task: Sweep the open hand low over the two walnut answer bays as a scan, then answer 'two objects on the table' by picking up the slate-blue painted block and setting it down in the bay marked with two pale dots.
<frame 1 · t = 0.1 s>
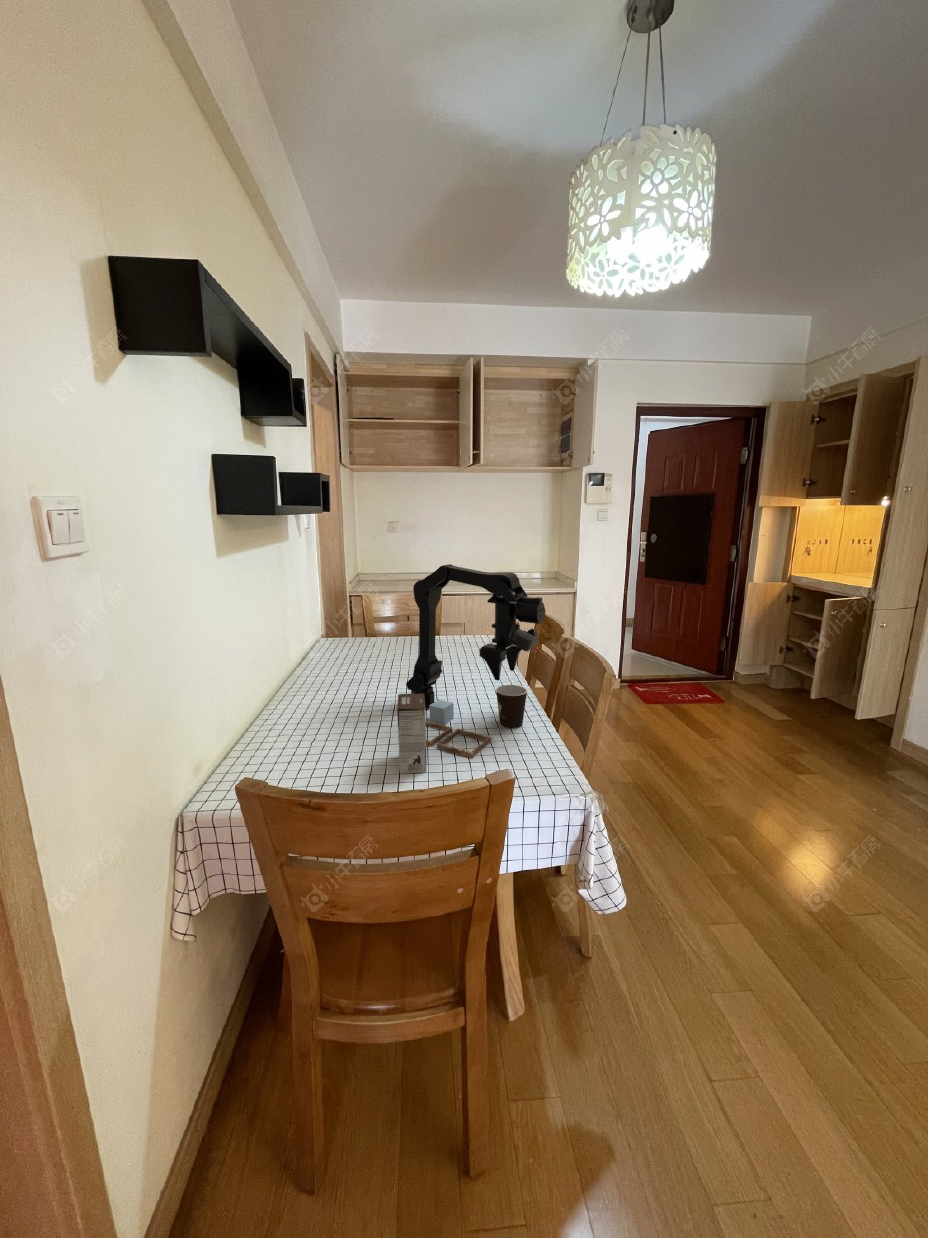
hand: (504, 675, 133), 15 cm above the table, fingers open, 9 cm apart
answer bays: (445, 739, 127), on the table
coffee box: (413, 764, 115), on the table
coffee mug: (511, 722, 138), on the table
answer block: (441, 720, 139), on the table
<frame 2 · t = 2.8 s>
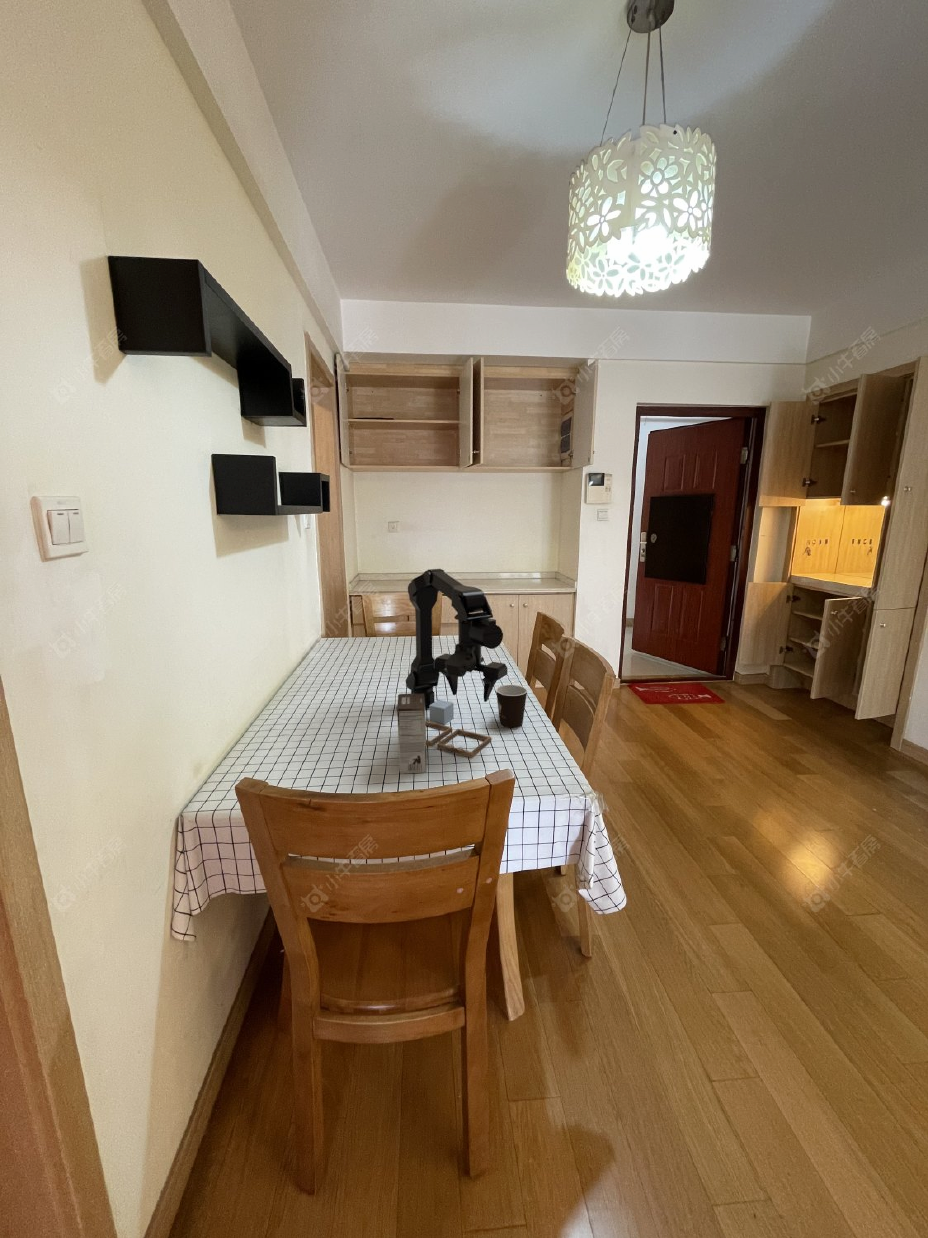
hand: (469, 698, 124), 12 cm above the table, fingers open, 9 cm apart
nothing on the table moved.
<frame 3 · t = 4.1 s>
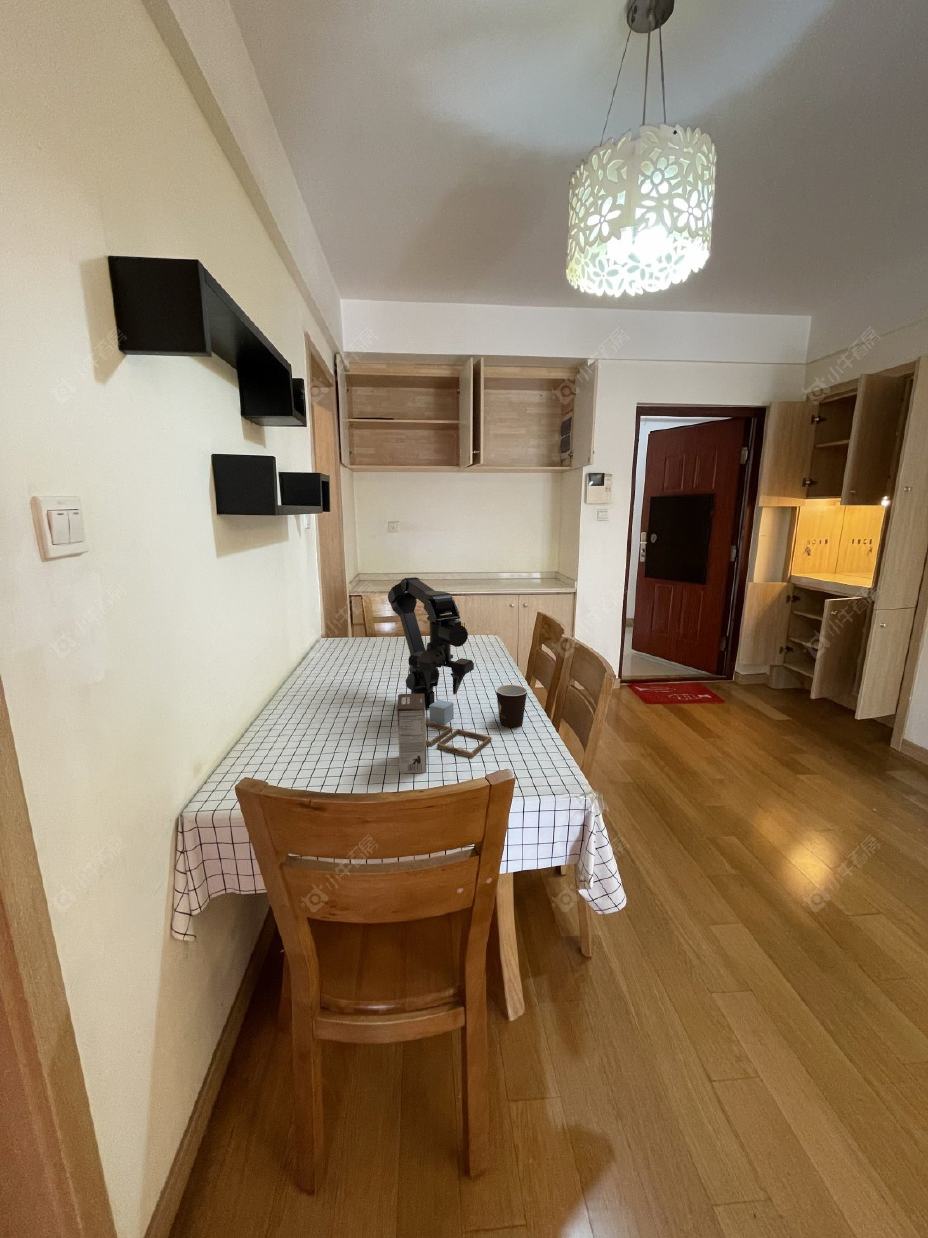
hand: (441, 691, 137), 9 cm above the table, fingers open, 9 cm apart
nothing on the table moved.
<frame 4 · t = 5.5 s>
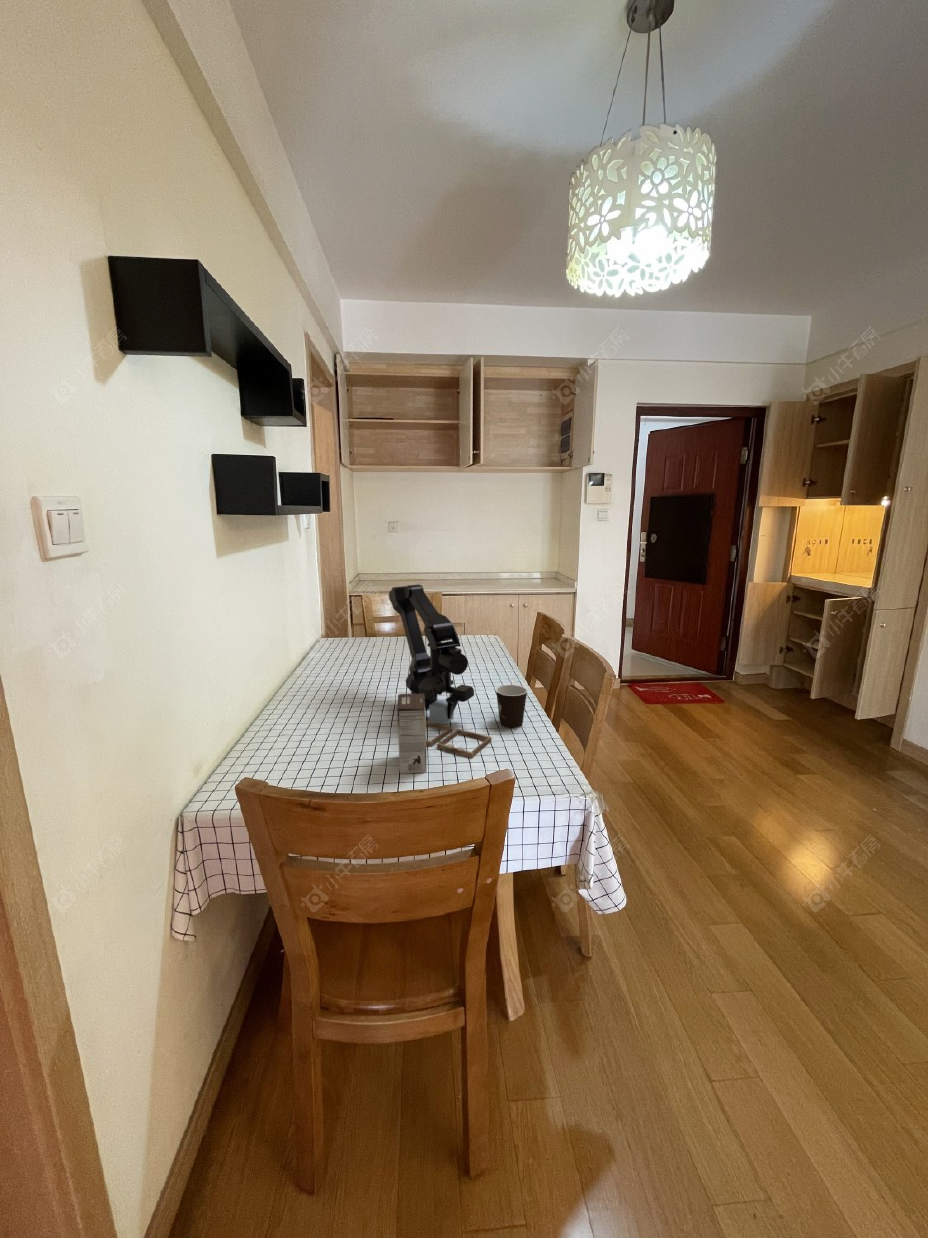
hand: (441, 716, 139), 1 cm above the table, fingers closed on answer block, 5 cm apart
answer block: (441, 720, 139), on the table, touching gripper
everything else where it was.
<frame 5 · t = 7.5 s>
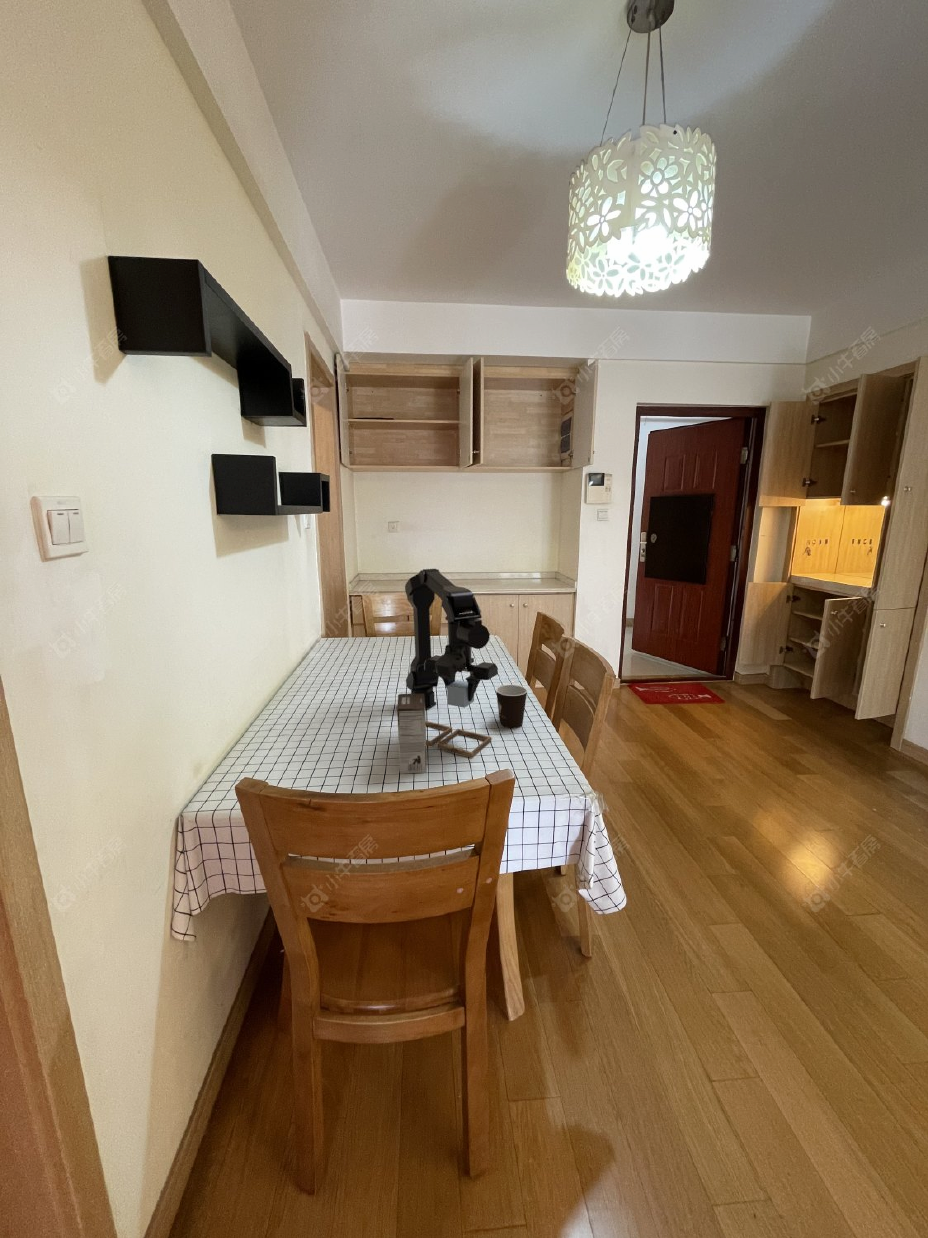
hand: (460, 699, 124), 12 cm above the table, fingers closed on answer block, 5 cm apart
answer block: (461, 702, 124), point 11 cm above the table, touching gripper
everything else where it was.
when the fingers open (2 cm above the table, at t = 9.7 s): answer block drops 2 cm, resting in answer bays.
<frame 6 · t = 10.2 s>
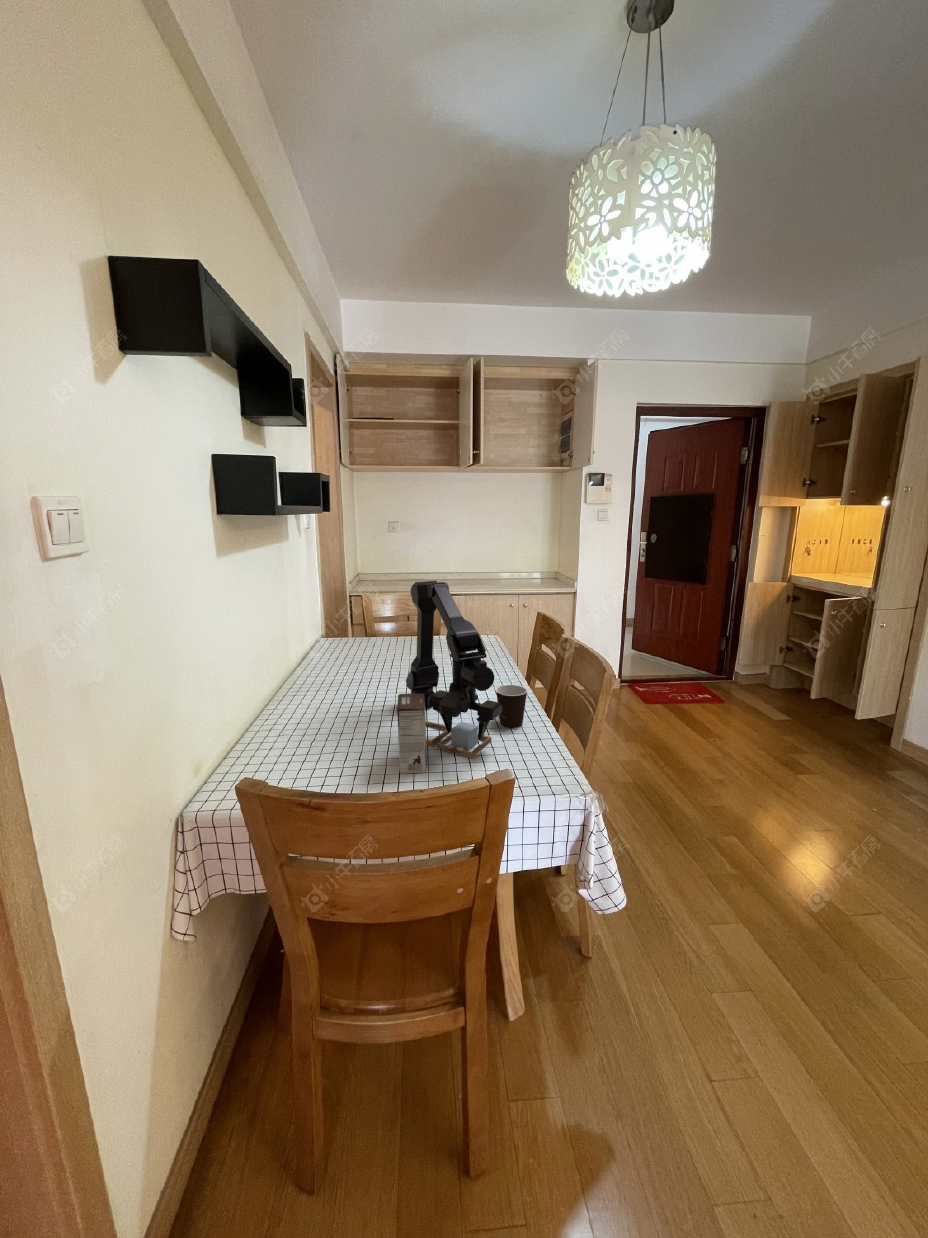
hand: (464, 735, 124), 2 cm above the table, fingers open, 9 cm apart
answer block: (464, 745, 124), resting in answer bays
everything else where it was.
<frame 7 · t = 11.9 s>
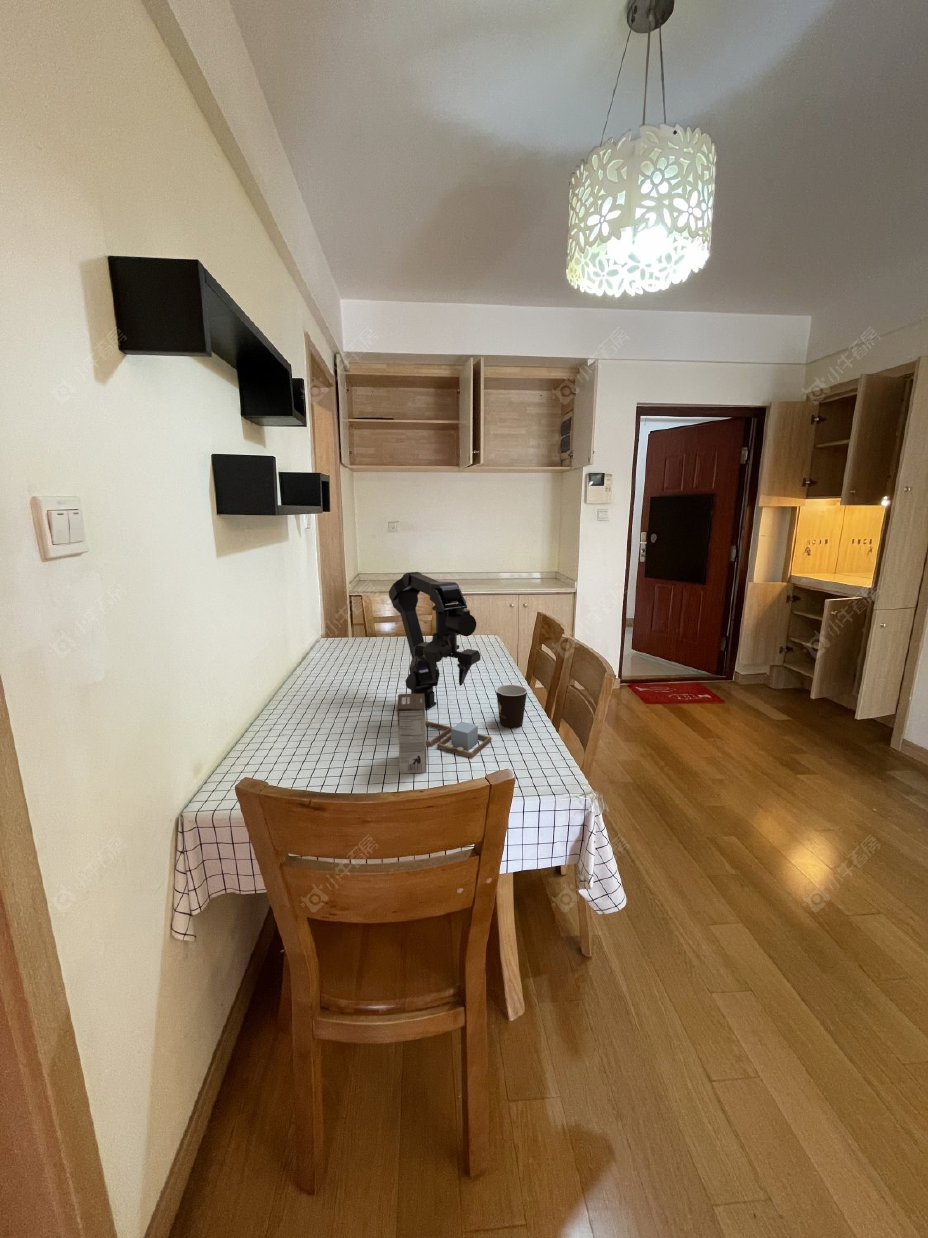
hand: (446, 682, 136), 12 cm above the table, fingers open, 9 cm apart
nothing on the table moved.
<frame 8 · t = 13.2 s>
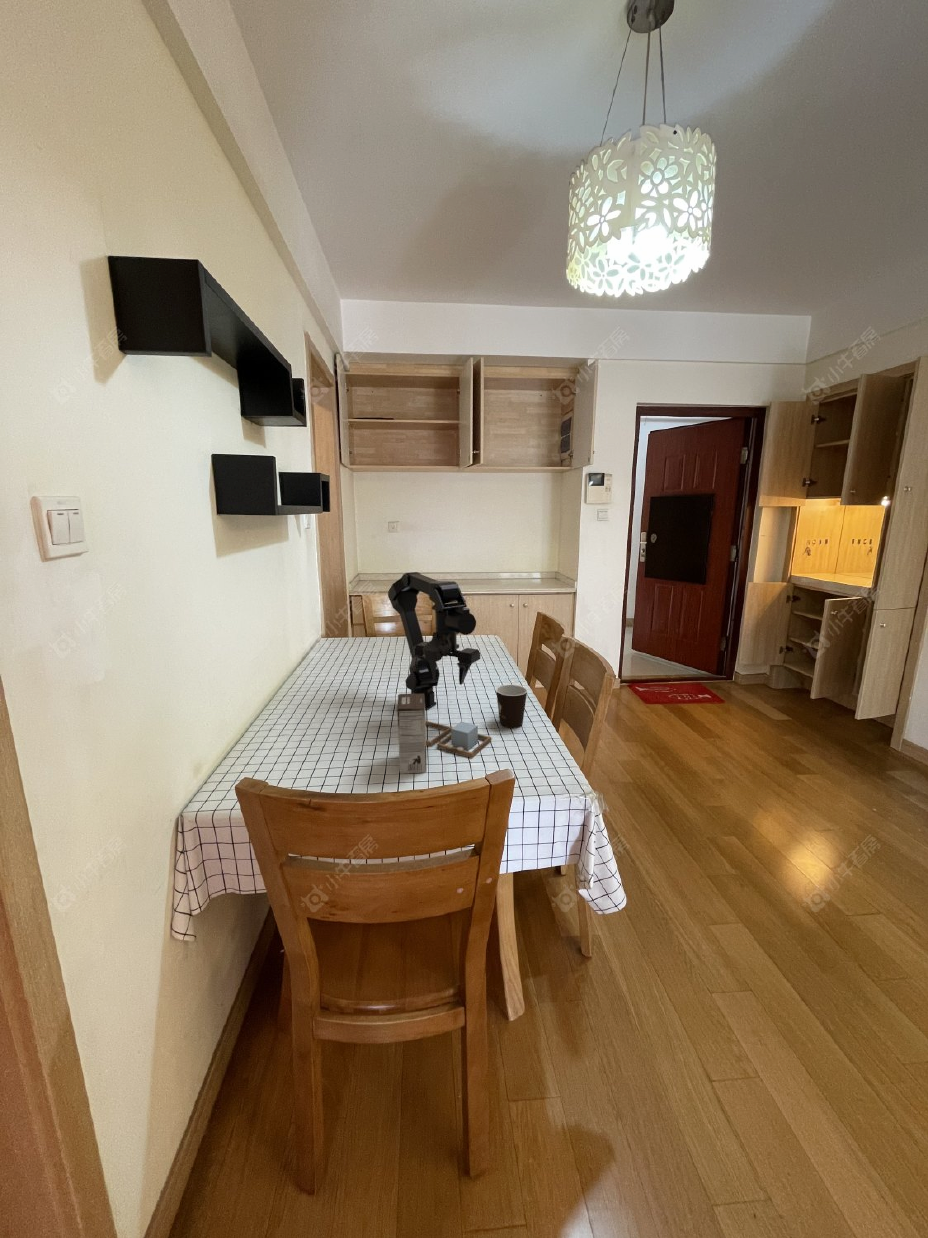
hand: (446, 681, 136), 12 cm above the table, fingers open, 9 cm apart
nothing on the table moved.
at the end: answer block inside the target area (0.0 cm from its centre), resting in answer bays; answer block tilted 0°; the gripper is holding nothing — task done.
